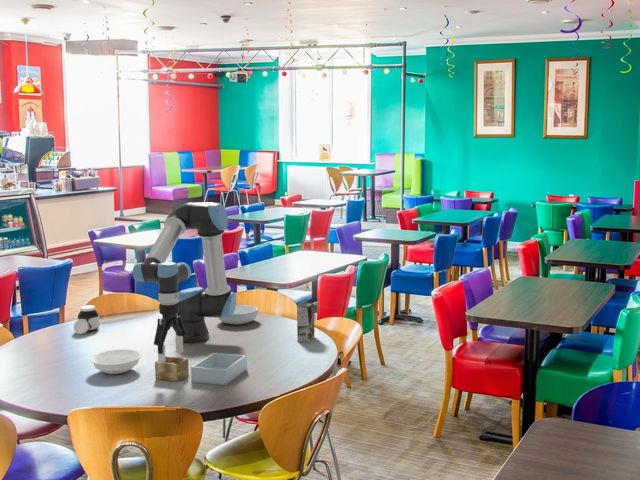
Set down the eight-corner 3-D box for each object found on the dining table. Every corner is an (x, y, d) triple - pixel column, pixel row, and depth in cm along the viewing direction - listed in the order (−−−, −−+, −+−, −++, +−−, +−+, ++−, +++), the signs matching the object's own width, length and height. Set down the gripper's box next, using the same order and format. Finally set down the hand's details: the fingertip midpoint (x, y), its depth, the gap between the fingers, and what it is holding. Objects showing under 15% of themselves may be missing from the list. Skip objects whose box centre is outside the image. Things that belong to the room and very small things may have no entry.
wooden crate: (155, 379, 295) (154, 362, 294) (166, 373, 302) (165, 356, 301) (178, 382, 291) (177, 364, 290) (188, 375, 299) (188, 358, 298)
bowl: (115, 383, 291) (114, 367, 290) (80, 375, 302) (79, 359, 301) (152, 369, 308) (152, 353, 307) (118, 361, 318) (117, 346, 317)
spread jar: (99, 327, 373) (98, 304, 372) (100, 333, 363) (99, 309, 361) (73, 329, 370) (72, 306, 368) (74, 335, 359) (72, 311, 357)
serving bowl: (267, 320, 382) (266, 307, 381) (241, 330, 365) (240, 316, 364) (234, 315, 393) (234, 302, 392) (207, 324, 376) (207, 311, 375)
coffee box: (310, 342, 342) (310, 307, 340) (297, 341, 344) (296, 306, 341) (315, 336, 351) (314, 302, 349) (301, 336, 352) (300, 302, 350)
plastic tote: (191, 382, 291) (190, 367, 290) (214, 366, 309) (213, 352, 308) (225, 385, 287) (225, 370, 286) (246, 370, 305) (246, 355, 304)
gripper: (160, 310, 279) (163, 366, 282) (193, 297, 303) (195, 348, 306) (142, 309, 282) (145, 365, 285) (176, 295, 305) (178, 347, 308)
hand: (171, 356), depth 295 cm, fingers open, 13 cm apart
